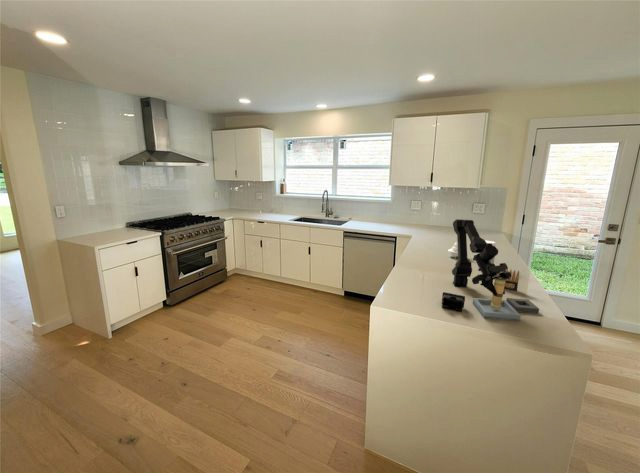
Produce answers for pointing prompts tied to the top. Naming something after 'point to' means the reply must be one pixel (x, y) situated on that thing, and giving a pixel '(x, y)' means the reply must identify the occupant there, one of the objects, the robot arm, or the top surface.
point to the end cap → (453, 302)
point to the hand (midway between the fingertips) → (500, 294)
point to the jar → (492, 245)
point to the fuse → (499, 288)
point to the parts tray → (496, 310)
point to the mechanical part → (454, 250)
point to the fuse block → (523, 305)
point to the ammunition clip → (511, 281)
